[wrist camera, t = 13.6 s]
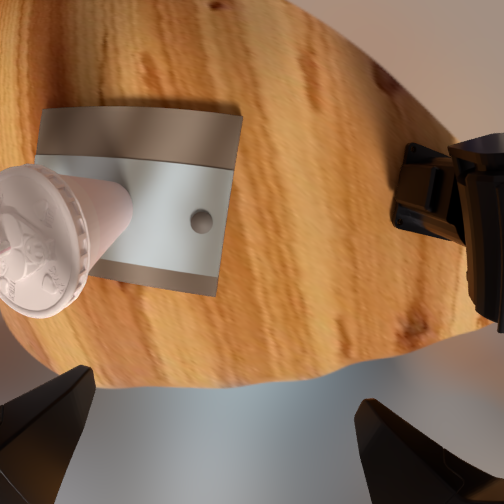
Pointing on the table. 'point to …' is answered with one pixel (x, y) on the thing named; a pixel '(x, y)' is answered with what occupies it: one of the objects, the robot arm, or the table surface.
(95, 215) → the smoothie
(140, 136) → the gray and brown board
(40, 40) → the table surface
